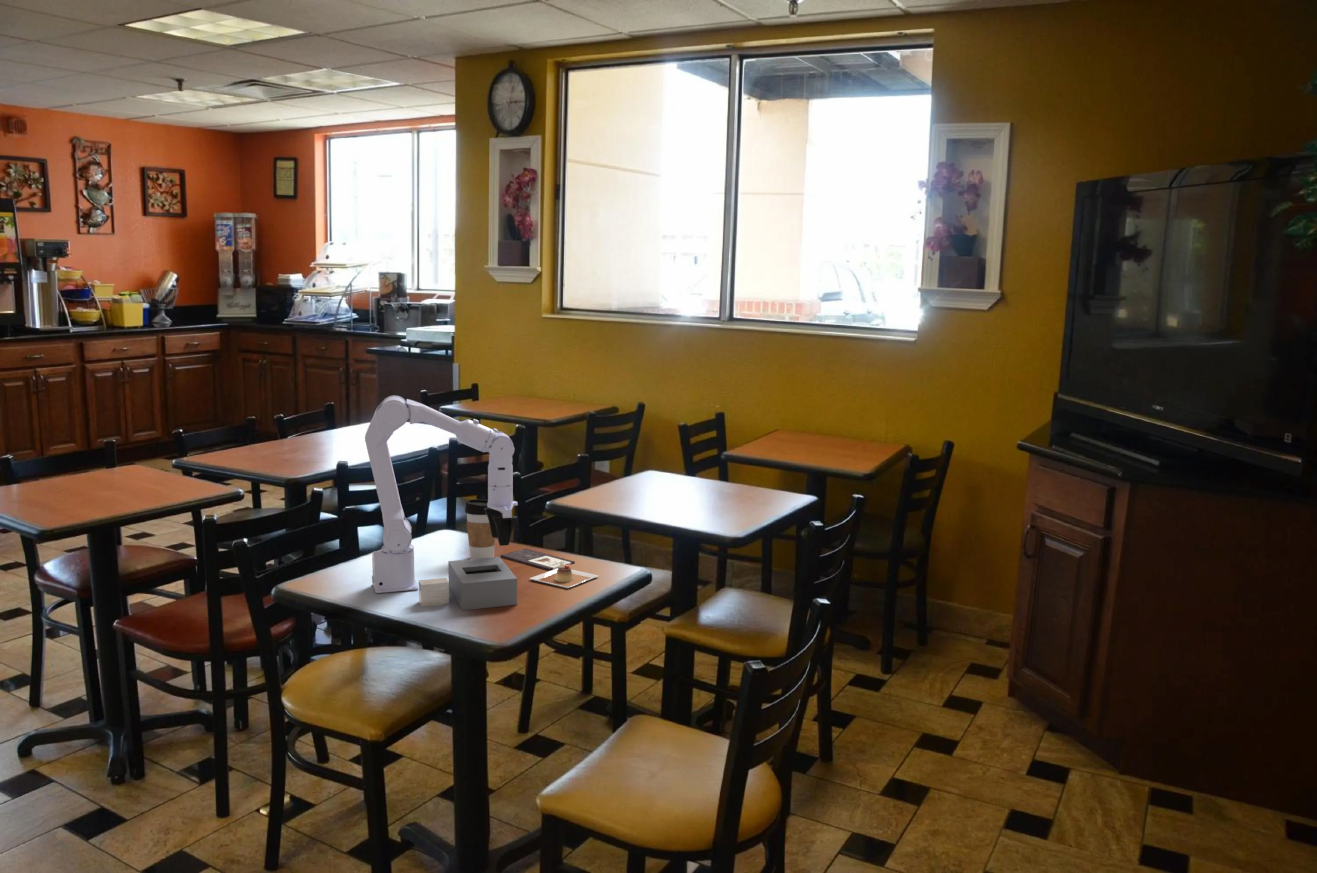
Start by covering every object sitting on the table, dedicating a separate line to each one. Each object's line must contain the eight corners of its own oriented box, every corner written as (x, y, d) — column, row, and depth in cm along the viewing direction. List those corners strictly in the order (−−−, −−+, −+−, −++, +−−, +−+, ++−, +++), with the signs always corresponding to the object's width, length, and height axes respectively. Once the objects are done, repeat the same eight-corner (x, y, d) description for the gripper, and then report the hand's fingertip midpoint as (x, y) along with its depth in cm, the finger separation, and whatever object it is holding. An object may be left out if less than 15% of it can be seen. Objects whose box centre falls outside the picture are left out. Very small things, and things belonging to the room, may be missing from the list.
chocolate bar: (526, 548, 261) (574, 561, 249) (526, 551, 261) (574, 565, 250) (500, 555, 254) (549, 568, 243) (500, 558, 254) (549, 572, 243)
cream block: (421, 607, 214) (421, 584, 214) (419, 602, 218) (418, 580, 217) (449, 604, 216) (448, 582, 216) (446, 599, 220) (446, 577, 219)
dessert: (599, 580, 238) (599, 560, 237) (568, 592, 228) (568, 572, 227) (560, 571, 244) (560, 552, 244) (528, 582, 234) (528, 563, 234)
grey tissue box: (462, 610, 212) (462, 583, 211) (448, 586, 229) (448, 561, 228) (517, 604, 217) (517, 578, 216) (499, 581, 233) (499, 556, 232)
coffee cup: (464, 554, 256) (463, 498, 253) (497, 553, 258) (497, 497, 255) (466, 563, 248) (465, 505, 245) (500, 561, 250) (499, 504, 247)
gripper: (524, 489, 225) (524, 547, 227) (510, 477, 238) (509, 532, 240) (494, 491, 222) (494, 549, 224) (481, 479, 235) (481, 534, 237)
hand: (500, 541), depth 232 cm, fingers open, 7 cm apart
